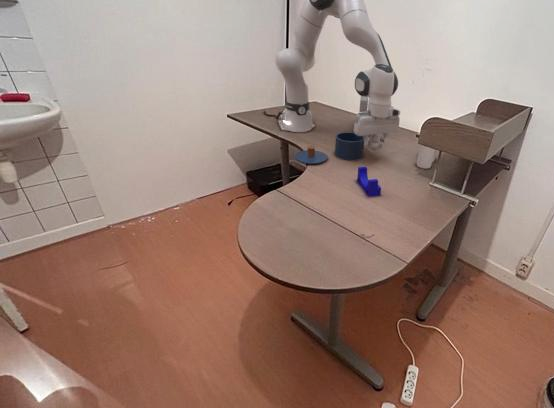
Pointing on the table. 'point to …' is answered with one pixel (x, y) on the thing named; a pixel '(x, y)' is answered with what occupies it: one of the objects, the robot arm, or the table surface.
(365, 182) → the blue l-shaped block
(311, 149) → the pail lid
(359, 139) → the pail
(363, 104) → the network device
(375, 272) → the table surface
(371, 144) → the rubber duck
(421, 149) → the can
